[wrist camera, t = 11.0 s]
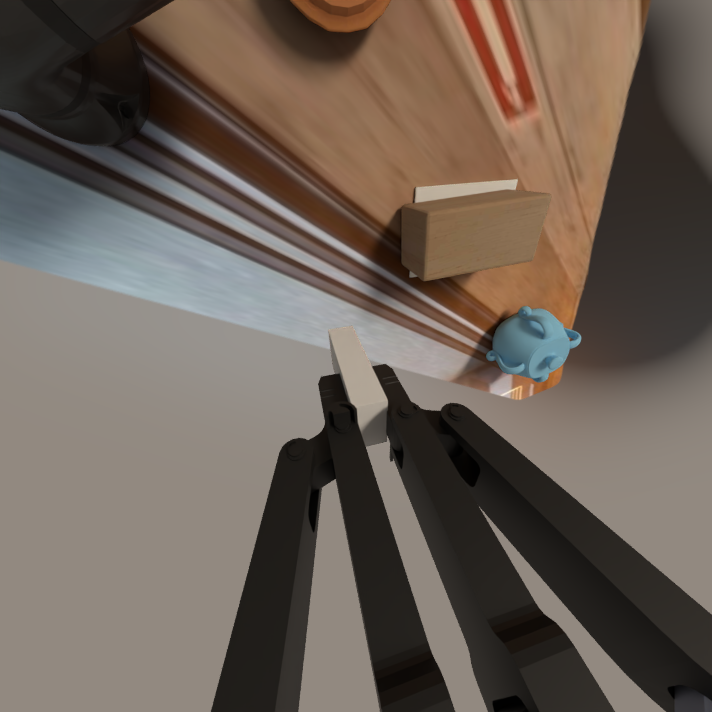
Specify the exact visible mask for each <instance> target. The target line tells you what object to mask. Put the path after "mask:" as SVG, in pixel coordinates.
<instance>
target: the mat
mask: <svg viewBox="0 0 712 712" xmlns="http://www.w3.org/2000/svg"><path fill="white" fill-rule="evenodd" d="M517 181H518V179H514V180H501V181H489V182H476V183H464V184H451V185H439V186H426V187H415V199H414V203H418V202H425V201H431V200H438V199H445V198H452V197H458V196H465V195H472V194H478V193H485V192H492V191H499V190H505V189H510V190H515V189H516V185H517ZM409 277H410V278H411V277H417V276H416V275H415V274H414V273H412V272H411V271H410V273H409Z"/></svg>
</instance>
